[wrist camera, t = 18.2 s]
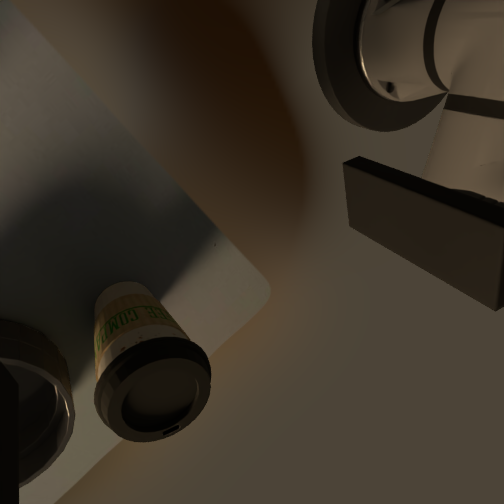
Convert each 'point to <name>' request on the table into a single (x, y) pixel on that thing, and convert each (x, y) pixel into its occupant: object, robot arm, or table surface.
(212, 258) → the table surface
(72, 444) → the table surface
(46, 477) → the table surface
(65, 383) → the bowl
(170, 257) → the table surface
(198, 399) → the coffee cup
